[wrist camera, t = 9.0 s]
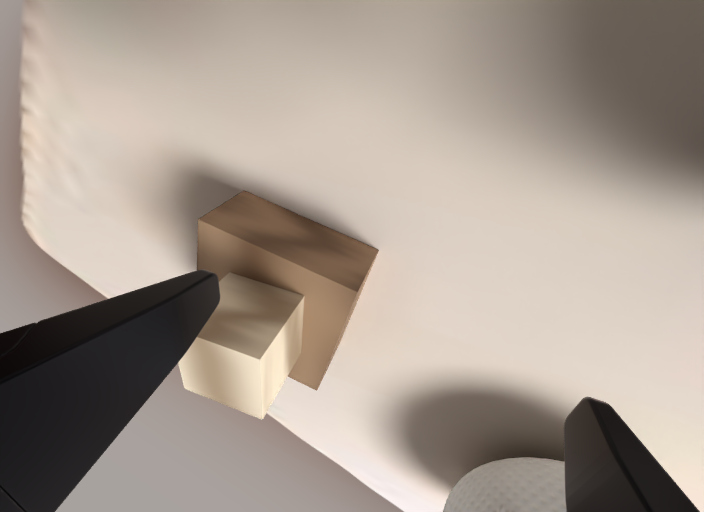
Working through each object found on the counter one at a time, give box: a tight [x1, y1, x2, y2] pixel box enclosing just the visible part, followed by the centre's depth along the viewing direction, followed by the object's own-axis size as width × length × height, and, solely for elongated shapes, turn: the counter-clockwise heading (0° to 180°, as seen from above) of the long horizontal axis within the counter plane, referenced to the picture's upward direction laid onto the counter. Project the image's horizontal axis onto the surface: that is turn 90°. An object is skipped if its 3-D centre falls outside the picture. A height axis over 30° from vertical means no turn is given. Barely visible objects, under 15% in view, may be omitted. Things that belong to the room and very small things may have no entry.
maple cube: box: [178, 272, 304, 419], centre depth 20 cm, size 5×5×5 cm
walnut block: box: [197, 191, 379, 390], centre depth 24 cm, size 10×10×5 cm
